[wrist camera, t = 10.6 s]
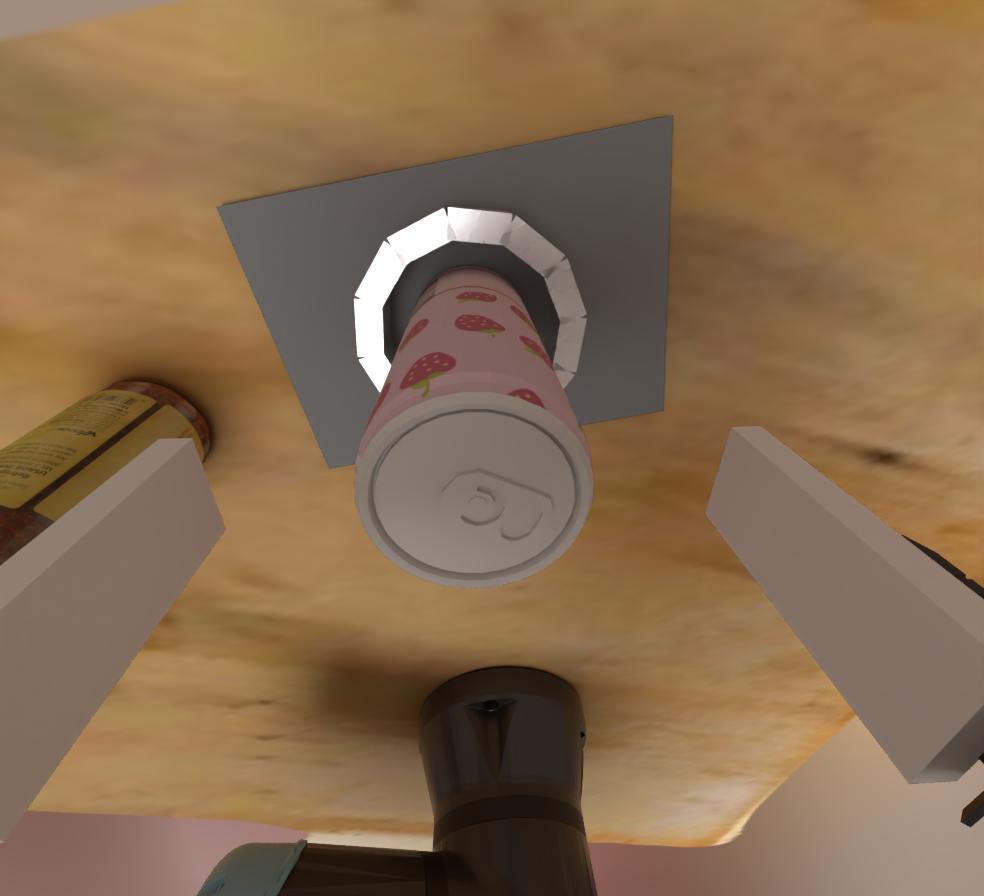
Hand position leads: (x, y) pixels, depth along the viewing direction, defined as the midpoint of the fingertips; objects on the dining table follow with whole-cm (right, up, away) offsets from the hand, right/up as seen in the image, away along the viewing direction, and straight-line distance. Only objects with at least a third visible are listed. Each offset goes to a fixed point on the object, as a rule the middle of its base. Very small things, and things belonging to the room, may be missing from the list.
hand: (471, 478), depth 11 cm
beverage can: (-1, +7, +12) cm, 14 cm away
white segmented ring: (-1, +7, +11) cm, 13 cm away
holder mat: (-1, +7, +12) cm, 14 cm away
